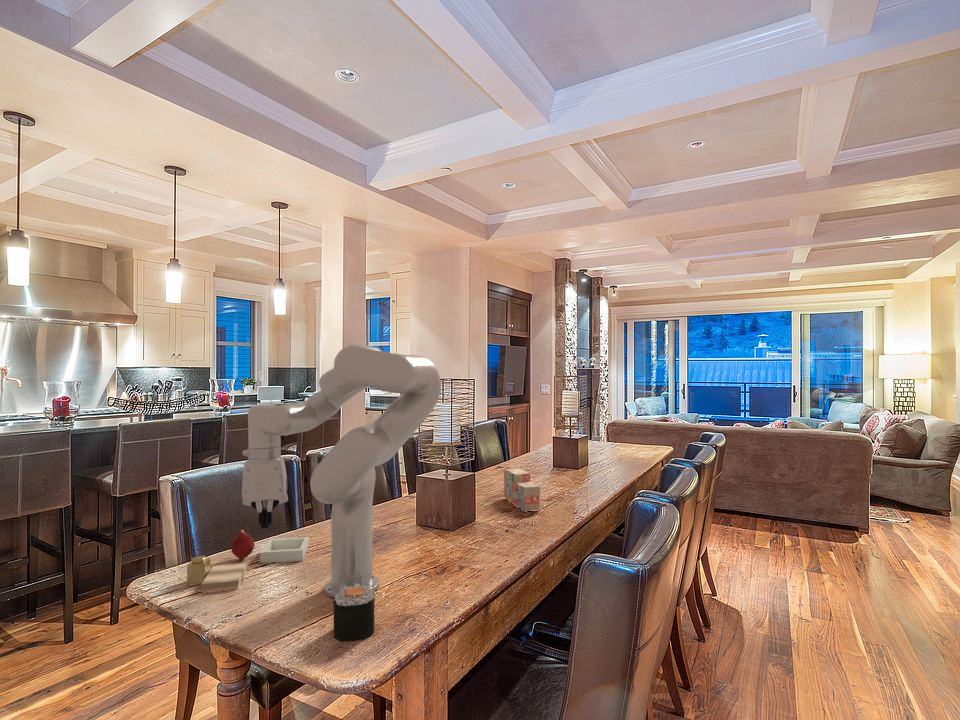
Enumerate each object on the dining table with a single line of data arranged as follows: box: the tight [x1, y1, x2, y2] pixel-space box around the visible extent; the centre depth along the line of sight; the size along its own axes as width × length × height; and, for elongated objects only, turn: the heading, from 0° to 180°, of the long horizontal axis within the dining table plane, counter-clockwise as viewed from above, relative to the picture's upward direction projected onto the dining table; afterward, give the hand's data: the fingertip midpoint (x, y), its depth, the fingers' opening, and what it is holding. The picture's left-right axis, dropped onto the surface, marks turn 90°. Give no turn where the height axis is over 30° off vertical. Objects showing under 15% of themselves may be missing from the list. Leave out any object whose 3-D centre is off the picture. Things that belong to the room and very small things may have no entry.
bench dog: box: [186, 555, 211, 586], centre depth 128 cm, size 4×4×6 cm
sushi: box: [332, 585, 376, 643], centre depth 103 cm, size 8×8×8 cm
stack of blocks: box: [503, 467, 541, 511], centre depth 198 cm, size 21×6×12 cm, turn 17°
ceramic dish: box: [259, 536, 310, 564], centre depth 146 cm, size 11×11×3 cm
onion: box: [230, 529, 255, 560], centre depth 143 cm, size 6×6×8 cm
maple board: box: [200, 562, 248, 593], centre depth 128 cm, size 12×8×2 cm, turn 15°
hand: (266, 526), depth 130 cm, fingers closed
